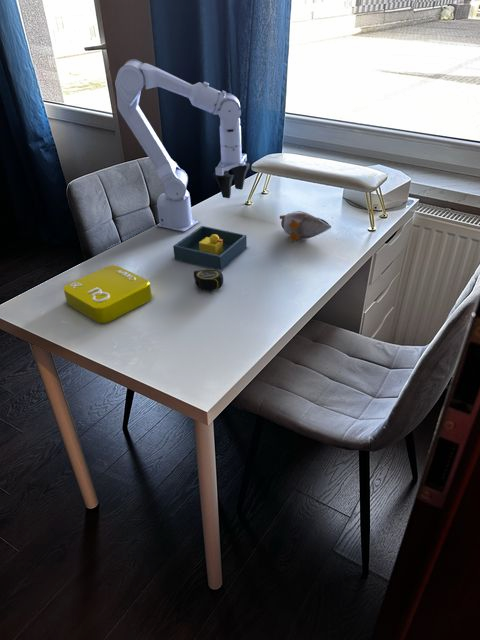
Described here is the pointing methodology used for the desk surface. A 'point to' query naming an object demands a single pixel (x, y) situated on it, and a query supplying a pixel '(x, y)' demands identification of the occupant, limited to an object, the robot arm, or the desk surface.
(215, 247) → the rubber duck
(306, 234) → the decorative duck model
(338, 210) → the desk surface
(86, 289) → the element tile
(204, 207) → the desk surface
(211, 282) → the tape measure
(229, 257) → the blue square tray
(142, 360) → the desk surface
